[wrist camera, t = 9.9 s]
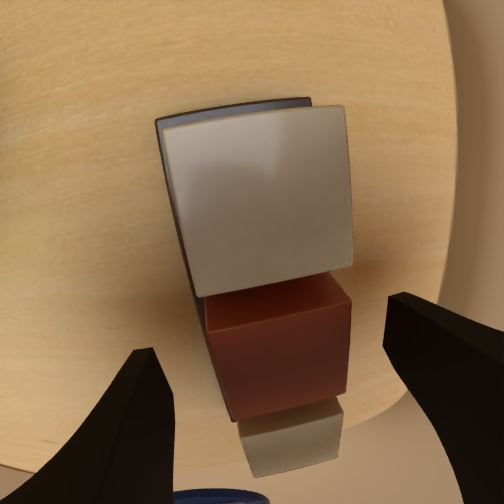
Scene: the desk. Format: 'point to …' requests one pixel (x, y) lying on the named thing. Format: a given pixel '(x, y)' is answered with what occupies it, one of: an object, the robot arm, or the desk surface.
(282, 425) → the two-cube stand
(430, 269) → the desk surface
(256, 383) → the reddish-brown block
